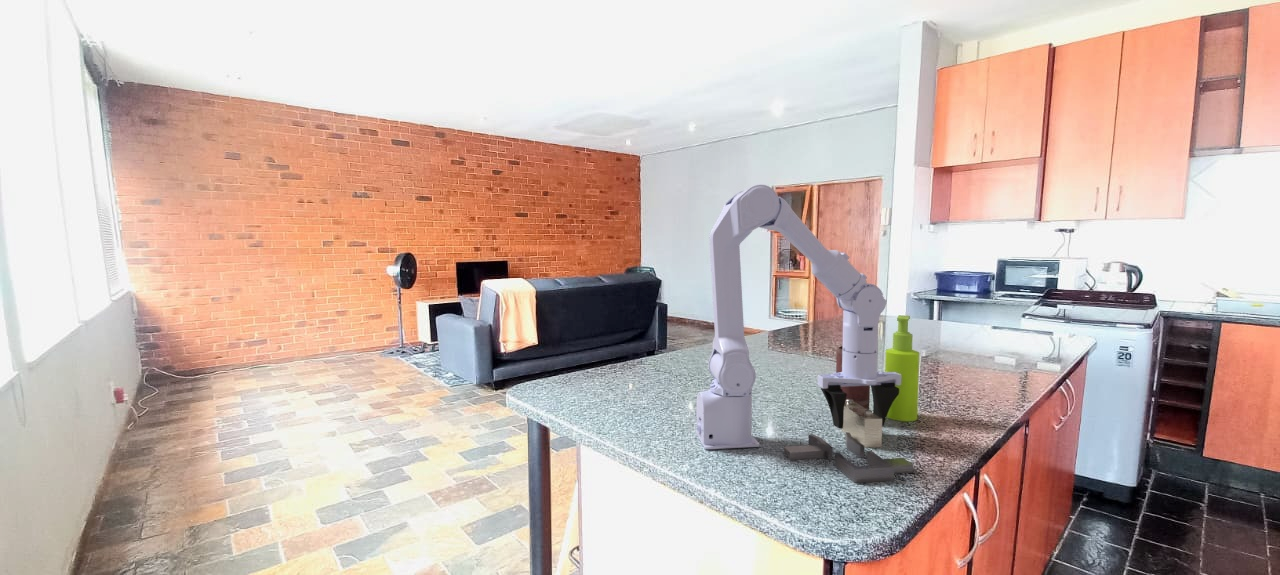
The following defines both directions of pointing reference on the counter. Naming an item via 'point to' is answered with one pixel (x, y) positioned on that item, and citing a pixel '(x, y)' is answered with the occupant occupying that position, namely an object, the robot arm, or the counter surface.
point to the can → (853, 392)
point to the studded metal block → (862, 424)
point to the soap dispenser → (904, 373)
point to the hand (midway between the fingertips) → (858, 425)
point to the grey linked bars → (872, 473)
